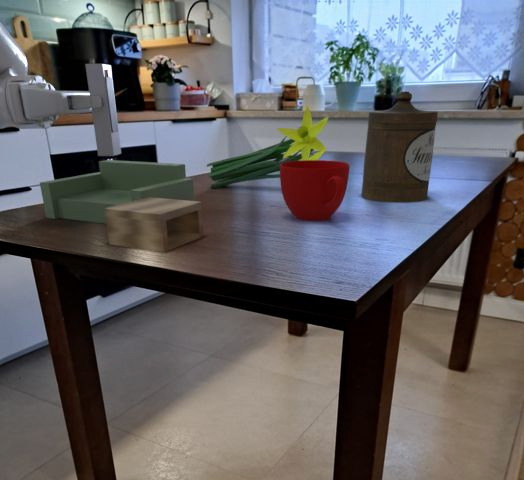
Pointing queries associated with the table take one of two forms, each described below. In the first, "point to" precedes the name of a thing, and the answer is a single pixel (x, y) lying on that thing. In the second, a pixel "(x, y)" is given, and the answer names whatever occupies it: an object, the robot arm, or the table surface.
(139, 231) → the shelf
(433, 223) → the table surface
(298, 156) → the daffodil flowers
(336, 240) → the table surface
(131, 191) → the sofa
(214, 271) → the table surface
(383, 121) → the wooden container
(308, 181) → the ceramic cup
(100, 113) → the grey rectangular block
